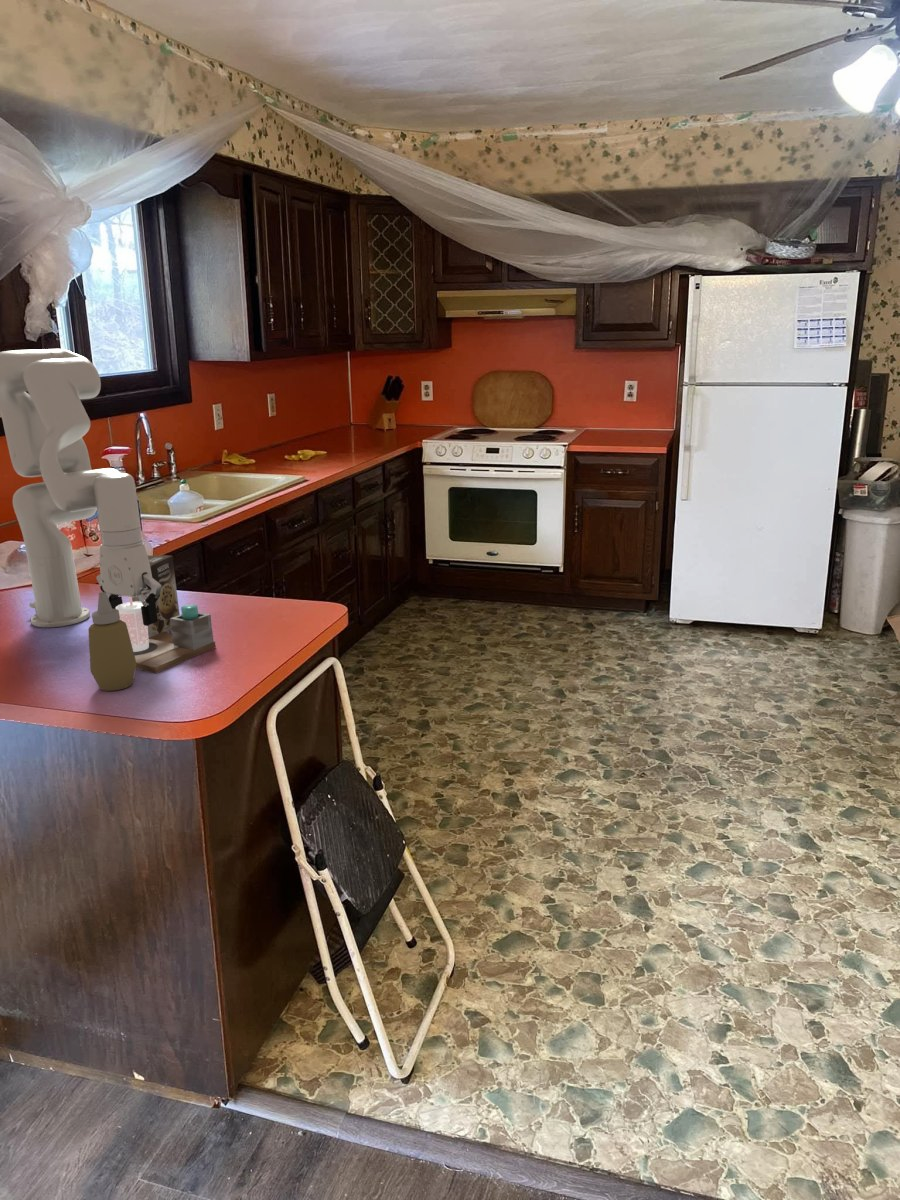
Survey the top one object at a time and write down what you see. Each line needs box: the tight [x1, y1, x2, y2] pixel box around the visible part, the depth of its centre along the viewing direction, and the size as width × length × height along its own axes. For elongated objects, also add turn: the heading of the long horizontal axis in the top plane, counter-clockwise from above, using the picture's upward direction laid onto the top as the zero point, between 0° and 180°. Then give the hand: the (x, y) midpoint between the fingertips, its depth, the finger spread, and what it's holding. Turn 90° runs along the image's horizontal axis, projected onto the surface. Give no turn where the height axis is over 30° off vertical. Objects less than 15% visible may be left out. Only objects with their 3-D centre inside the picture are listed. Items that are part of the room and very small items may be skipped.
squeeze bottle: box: [88, 591, 137, 692], centre depth 164 cm, size 8×8×18 cm
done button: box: [180, 604, 199, 620], centre depth 182 cm, size 3×3×3 cm
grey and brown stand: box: [134, 611, 217, 674], centre depth 181 cm, size 15×16×7 cm
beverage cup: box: [116, 597, 149, 652], centre depth 179 cm, size 6×6×14 cm
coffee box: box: [132, 554, 181, 638], centre depth 194 cm, size 9×6×16 cm
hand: (133, 620), depth 179 cm, fingers open, 9 cm apart
